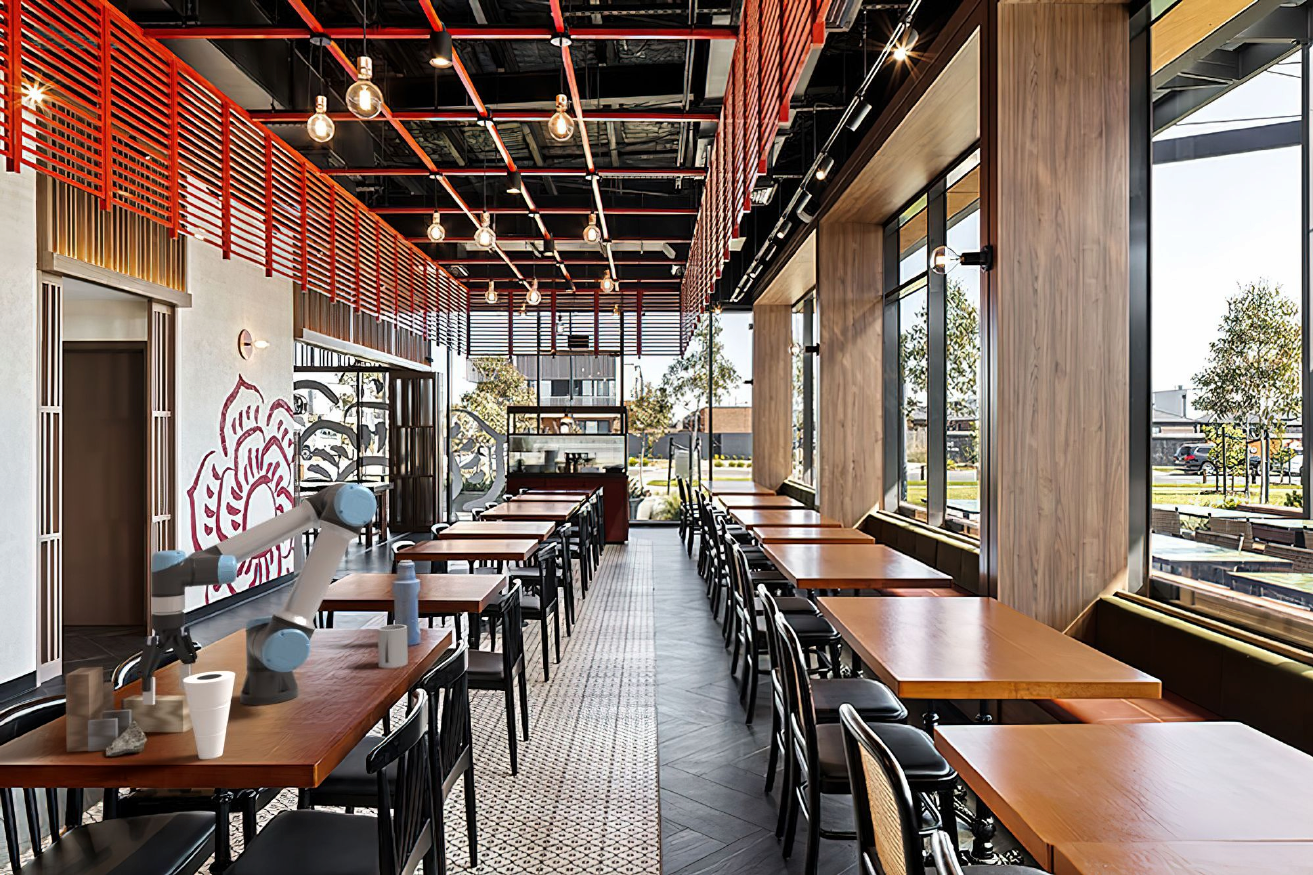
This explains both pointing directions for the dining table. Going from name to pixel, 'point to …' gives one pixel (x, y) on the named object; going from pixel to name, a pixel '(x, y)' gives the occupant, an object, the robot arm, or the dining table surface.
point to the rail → (159, 713)
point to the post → (92, 711)
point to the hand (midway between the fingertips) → (167, 696)
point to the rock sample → (128, 741)
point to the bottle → (407, 600)
